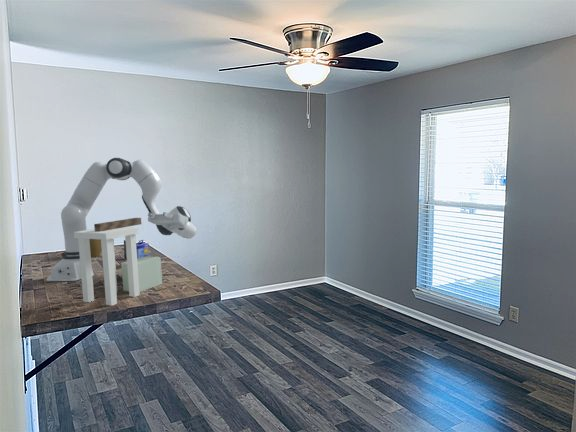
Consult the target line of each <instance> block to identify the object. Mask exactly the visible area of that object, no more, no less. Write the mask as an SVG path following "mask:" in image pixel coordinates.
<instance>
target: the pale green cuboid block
mask: <svg viewBox="0 0 576 432" xmlns="http://www.w3.org/2000/svg"><path fill="white" fill-rule="evenodd" d="M120 264H121V277H122V289H123V290H122V291H123V292H129V283H128V269H127V261H124V262H121V263H120ZM137 264H138V278H139V292H140V293H141V292H144V291H147V290H149V289H151V288H155V287H157V286H160V285H162V284H163V276H162V275H163V272H162V260H161V257H160V256H149V257H148V256H145V257H142V258H138V259H137Z"/></svg>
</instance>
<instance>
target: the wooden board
mask: <svg viewBox="0 0 576 432" xmlns="http://www.w3.org/2000/svg"><path fill="white" fill-rule="evenodd" d="M138 225H142V217H132V218H125V219H119V220H113V221H106V222H100V223H94V225H93V226H94V228H93V229H95V231H99V232H100V231H106V230H112V229H117V228H123V227H135V226H138Z"/></svg>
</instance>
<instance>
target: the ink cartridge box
mask: <svg viewBox="0 0 576 432" xmlns="http://www.w3.org/2000/svg"><path fill="white" fill-rule="evenodd" d="M149 249H150V247H149V242H144V239H142V240H138V243H136V250H137V259H138V258H142V257H145V256H148V257H150V251H149Z"/></svg>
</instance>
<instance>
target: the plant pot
mask: <svg viewBox="0 0 576 432" xmlns="http://www.w3.org/2000/svg"><path fill="white" fill-rule="evenodd" d="M89 241H90V253H91V258H96V257H95V256H98V257H100V256H101V255H102V246H101V239H89Z"/></svg>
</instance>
